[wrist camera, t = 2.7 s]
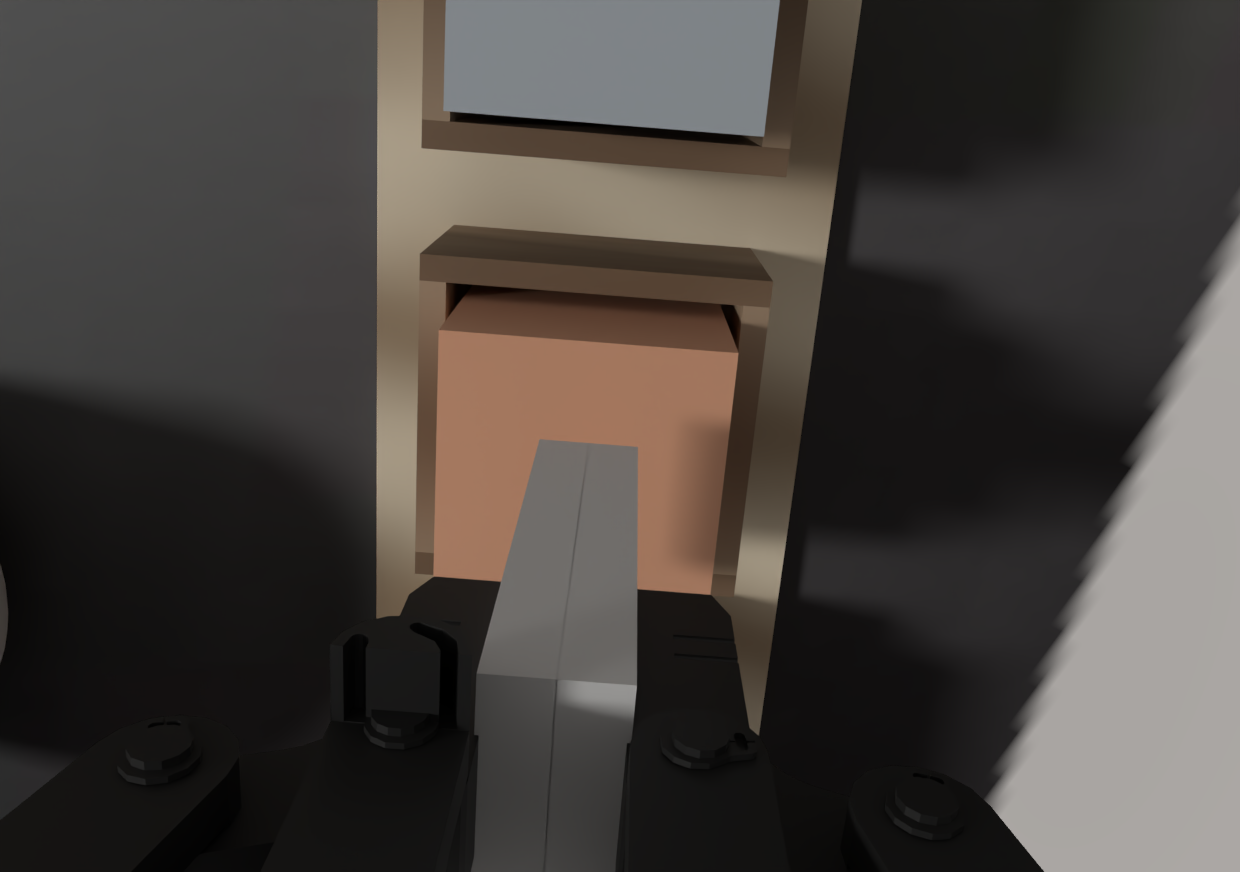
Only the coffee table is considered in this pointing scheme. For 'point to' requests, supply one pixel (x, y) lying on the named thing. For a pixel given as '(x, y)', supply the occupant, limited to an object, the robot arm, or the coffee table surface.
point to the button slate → (614, 61)
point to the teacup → (3, 614)
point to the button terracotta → (582, 419)
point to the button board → (610, 269)
